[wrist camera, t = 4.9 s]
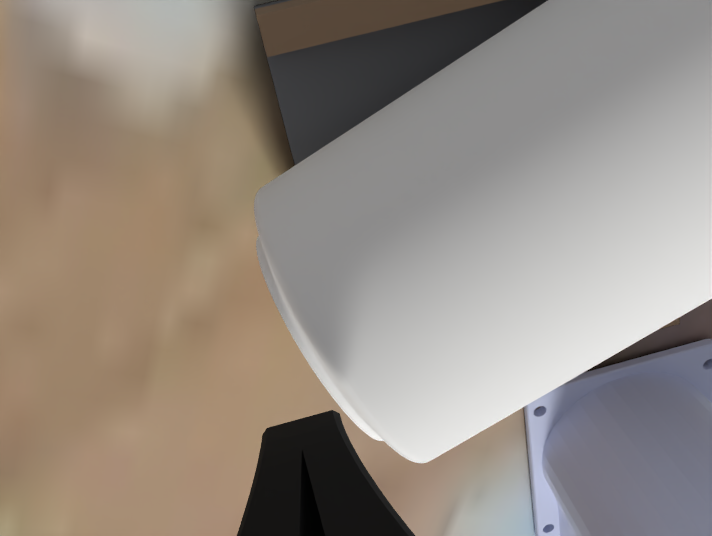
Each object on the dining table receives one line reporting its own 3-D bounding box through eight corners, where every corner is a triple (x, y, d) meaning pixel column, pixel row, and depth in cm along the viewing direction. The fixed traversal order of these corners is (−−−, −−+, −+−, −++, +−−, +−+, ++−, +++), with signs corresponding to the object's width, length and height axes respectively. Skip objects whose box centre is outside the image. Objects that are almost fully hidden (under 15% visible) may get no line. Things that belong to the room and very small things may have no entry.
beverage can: (190, 201, 13) (742, -163, 12) (272, 202, 21) (605, -14, 20) (407, 540, 13) (968, 225, 12) (406, 414, 21) (743, 216, 20)
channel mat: (650, 297, 25) (679, 323, 23) (349, 378, 24) (358, 411, 22) (664, -92, 18) (706, -91, 17) (253, 6, 18) (256, 15, 16)
